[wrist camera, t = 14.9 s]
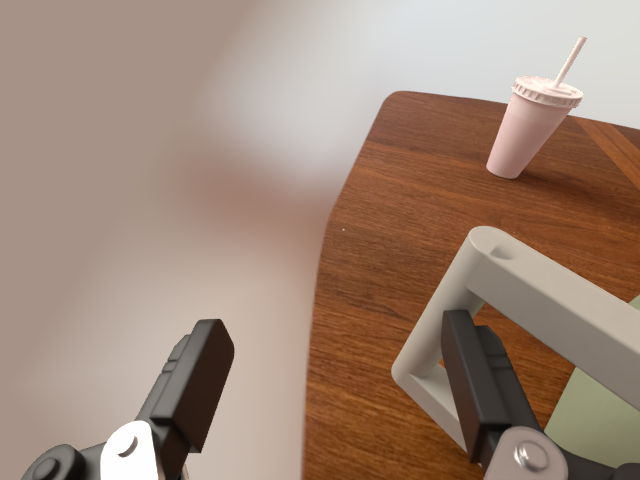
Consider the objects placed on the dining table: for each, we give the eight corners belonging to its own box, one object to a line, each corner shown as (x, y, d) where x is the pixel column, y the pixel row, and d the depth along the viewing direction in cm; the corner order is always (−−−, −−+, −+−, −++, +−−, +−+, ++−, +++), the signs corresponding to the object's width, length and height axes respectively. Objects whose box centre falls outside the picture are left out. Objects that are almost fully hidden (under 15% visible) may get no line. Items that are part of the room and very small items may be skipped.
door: (368, 399, 17) (482, 194, 8) (497, 267, 26) (624, 93, 17) (514, 558, 13) (1089, 520, 4) (609, 339, 22) (861, 163, 13)
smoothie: (503, 188, 35) (589, 45, 26) (463, 160, 39) (525, 26, 30) (541, 180, 38) (633, 45, 28) (500, 154, 42) (568, 28, 32)
